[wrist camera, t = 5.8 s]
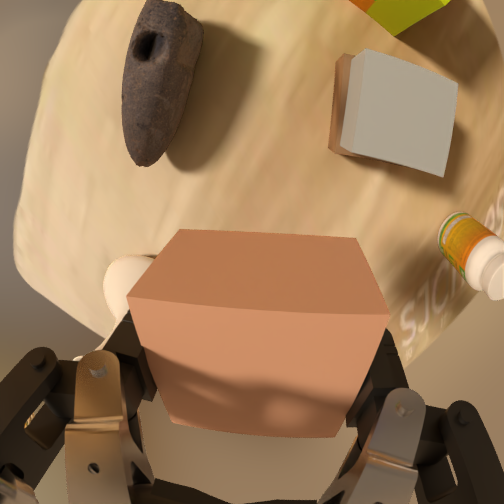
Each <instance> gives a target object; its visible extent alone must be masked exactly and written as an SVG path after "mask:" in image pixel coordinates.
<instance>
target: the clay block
mask: <svg viewBox="0 0 504 504" xmlns="http://www.w3.org/2000/svg"><path fill="white" fill-rule="evenodd" d="M126 298H127V302H128V305H129V309H130V312H131V315H132V319H133V322H134V325H135V328H136V331H137V334H138V337H139V340H140V343H141V346H143V347H144V351H145V354H146V358H147V362H148V365H149V368H150V371H151V373H152V376H153V379H154V381H155V384H156V386H157V389H158V391H159V393H160V396H161V398H162V400H163V403H164V405H165V407H166V410H167V412H168V414H169V416H170V418H171V421H172V422H173V423H177V424H182V425H187V426H192V427H197V428H203V429H209V430H215V431H223V432H230V433H238V434H247V435H258V436H271V437H293V438H294V437H295V438H329V437H330V438H331V437H335V436H336V434H337V432H338V431H339V429H340V427H341V425H342V424H343V422H344V420H345V418H346V414H347V412H348V411H349V409H350V408H351V406H352V404H353V402H354V400H355V398H356V396H357V394H358V392H359V390H360V388H361V386H362V384H363V382H364V379H365V377H366V375H367V373H368V370H369V368H370V366H371V363H372V361H373V359H374V356H375V354H376V351H377V349H378V347H379V344H380V341H381V339H382V336H383V334H384V331H385V328H386V326H387V323H388V320H389V317H390V312H389V310H388V308H387V305H386V303H385V300H384V298H383V296H382V293H381V291H380V289H379V286H378V284H377V282H376V280H375V277H374V275H373V273H372V271H371V269H370V267H369V264H368V262H367V260H366V258H365V256H364V254H363V252H362V250H361V248H360V246H359V244H358V241H357V239H356V238H347V237H331V236H315V235H297V234H279V233H260V232H239V231H216V230H190V229H180V230H179V231H178V232H177V233H176V234H175V235H174V237H173V238H172V239H171V240H170V241H169V243H168V244H167V245H166V246H165V247H164V249H163V250H162V251H161V252H160V253H159V255H158V256H157V257H156V258H155V260H154V261H153V262H152V263H151V265H150V266H149V267H148V268H147V270H146V271H145V272H144V273H143V275H142V276H141V277H140V278H139V280H138V281H137V282H136V284H135V285H134V286H133V287H132V289H131V290H130V291H129V293H128V294H127V295H126Z"/></svg>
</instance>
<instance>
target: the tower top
mask: <svg viewBox="0 0 504 504" xmlns="http://www.w3.org/2000/svg"><path fill="white" fill-rule="evenodd" d="M457 93H458V83H456V82H454V81H452V80H450V79H448V78H446V77H444V76H441V75H439V74H437V73H435V72H432V71H430V70H428V69H425V68H423V67H420V66H418V65H415V64H412V63H410V62H407V61H404V60H401V59H399V58H396V57H393V56H390V55H387V54H383V53H380V52H377V51H373V50H370V49H366V48H365V49H364V50H363V51H361V52H360V53H359V54H358V55H356V56H355V57H354V58H353V59H351V69H350V77H349V86H348V94H347V101H346V108H345V115H344V122H343V129H342V135H341V141H340V146H341V147H343V148H345V149H346V150H348V151H350V152H352V153H357V154H361V155H365V156H370V157H374V158H378V159H382V160H386V161H390V162H393V163H397V164H401V165H404V166H408V167H411V168H415V169H418V170H421V171H425V172H428V173H431V174H434V175H437V176H440V177H444V172H445V168H446V164H447V159H448V154H449V149H450V143H451V138H452V132H453V125H454V119H455V111H456V103H457Z"/></svg>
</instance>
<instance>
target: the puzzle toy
mask: <svg viewBox="0 0 504 504" xmlns="http://www.w3.org/2000/svg"><path fill="white" fill-rule="evenodd" d="M349 1H351V2H352V3H353V4H355V5H356V6H357V7H359V8H360V9H361V10H363V11H364V12H365V13H366V14H368V15H369V16H370V17H371V18H373V19H374V20H375V21H376V22H378V23H379V24H380V25H381V26H382V27H383V28H385V29H386V30H387V31H388V32H389V33H390V34H391V35H393V36H396V35H397V34H399V33H400V32H402V31H404V30H405V29H407V28H408V27H410V26H411V25H413V24H415V23H416V22H418V21H420V20H421V19H423V18H425V17H426V16H428V15H430V14H431V13H433V12H435V11H437V10H438V9H440V8H442V7H444V6H445V5H446V4H447V3H448V2H449V1H450V0H349Z"/></svg>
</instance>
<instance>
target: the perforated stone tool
mask: <svg viewBox="0 0 504 504" xmlns="http://www.w3.org/2000/svg"><path fill="white" fill-rule="evenodd" d="M203 34H204V32H203V29H202V25H201V24H200V23H199V22H198V21H197V19H195V18H193V17H192V16H191V15H190V14H188V13H187V12H186V11H184V8H183V7H182V6H181V5H179V4H177V3H175V2H168V1H163V0H147V1H146V2H145V5H144V7H143V9H142V11H141V13H140V15H139V17H138V19H137V23H136V25H135V28H134V30H133V33H132V36H131V40H130V44H129V47H128V51H127V56H126V61H125V67H124V74H123V82H122V126H123V132H124V138H125V143H126V146H127V149H128V152H129V154H130V156H131V158H132V159H133V161H134V162H135V163H136V165H138V166H139V167H140V166H144V167H149V166H151V165H152V164H154V163H155V162H156V161H158V160H159V158H160V157H161V156H162V155H163V153H164V152H165V150H166V149H167V147H168V145H169V144H170V142H171V140H172V138H173V137H174V135H175V133H176V130H177V128H178V125H179V123H180V120H181V117H182V114H183V111H184V108H185V105H186V101H187V98H188V94H189V90H190V87H191V83H192V79H193V76H194V67H195V63H196V62H197V60H198V57H199V54H200V49H201V45H202V40H203Z"/></svg>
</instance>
